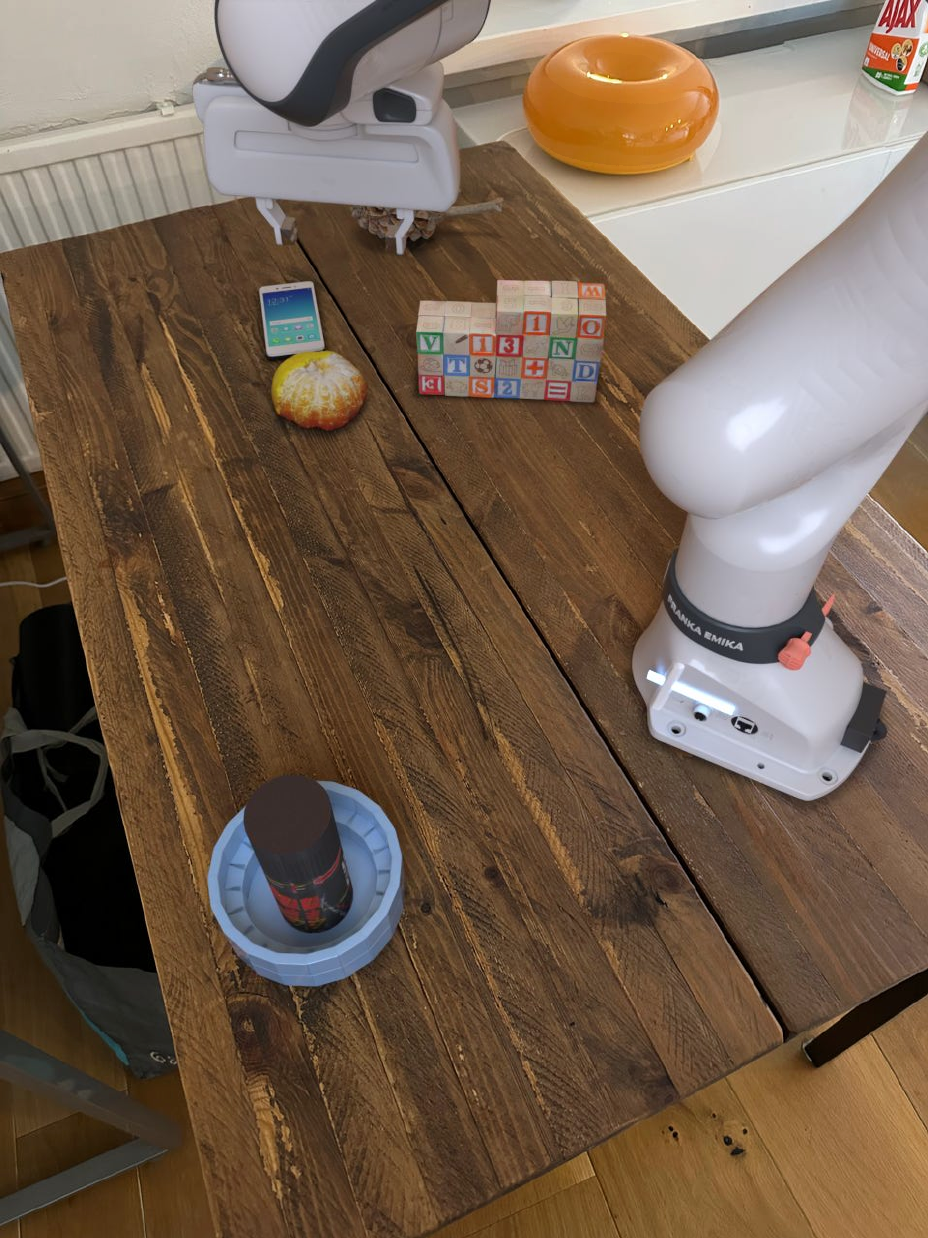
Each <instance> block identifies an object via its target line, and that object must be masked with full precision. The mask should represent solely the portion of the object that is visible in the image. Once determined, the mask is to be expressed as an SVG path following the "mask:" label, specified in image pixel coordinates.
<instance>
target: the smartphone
mask: <svg viewBox="0 0 928 1238" xmlns="http://www.w3.org/2000/svg"><path fill="white" fill-rule="evenodd" d="M258 291H259V292H258V293H259V300H260V301H259V307H260V314H261V318H262V327H263V334H264V335H263V336H264V343H265V344H264V345H265V351H266V357H267V359H268V360H272V361H274V360H281V359H282V360H283V359H289V358H290V357H292V356H293V355H295V354H297V353H301V352H306V351H310V352H320V351H326V347H325V340H324V337H323V330H322V325H321V319H320V313H319V308H318V307H319V304H318V303H319V302H318V300H317V296H316V290H315V285H314V282H313V281H309V280H308V281H307V280H306V281H298V282H291V283H282V284H274V285H265V286H261V287H260V288H259V289H258Z"/></svg>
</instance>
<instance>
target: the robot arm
mask: <svg viewBox="0 0 928 1238" xmlns="http://www.w3.org/2000/svg"><path fill="white" fill-rule="evenodd" d="M924 1H925V2H926V3H927V4H928V0H924ZM491 2H492V0H214V9H213V10H214V12H213V13H214V14H213V16H214V27H215V34H216V39H217V43H218V46H219V50H220V52H221V55H222V57H223V60H224V62H225V64H226V67H227V68H225V67H221V66H211V67H207V68H206V70H205V72H203V73H200V74H198V75H197V76H196V78H195V79H194V80H193V82H192V87H191V94H192V100H193V105H194V109H195V113H196V115H197V118H198V119H199V121H200V123H202V139H203V153H204V161H205V168H206V169H205V170H206V175H207V181H208V182H209V184H210V185H211V186H212V188H213V189H215V191H216V192H217V193H218V194H219V195H222V196H229V197H243V198H255V199H254V200H255V204H256V209H257V210H258V211H259V213H260V214H261V215H262V216H263V218H264V219H265V221H266V222H267V223H268V224H269V225H270V227H271V228H273V231H274V237H275V243H276V245H277V246H290V247H295V246H296V242H297V241H298V237H299V232H298V229H297V218H296V217H293V216H287V215H286V213H285V212H284V210H283V209H282V208H281V206H280V205H279V202H277V201H278V200H281V201H282V200H283V201H295V202H308V203H321V204H322V203H323V204H333V205H347V206H348V205H349V206H351V205H359V206H372V207H385V208H396V209H397V218H398V219H401V220H400V222H399V224H398V225H388V228H387V232H386V234H385V237H384V243H385V245H386V246H385V254H392V255H404V254H405V250H406V247H407V238H406V232H407V231H408V229H409V227H410V226H411V224H412V222H413V221H414V218H415V214H416V211H417V210H424V211H436V212H446V211H447V210H449V209H450V207H453V205H454V204H455V203H456V202H457V199H458V196H459V192H460V188H461V179H462V178H461V175H462V174H461V171H462V170H461V157H460V155H461V154H460V145H459V138H458V131H457V124H456V121H455V116H454V114H453V111H452V109H451V107H450V106H449V104H448V103H447V101H446V100H445V99H444V98H443V92H444V85H445V71H444V70H445V69H444V65H443V63H442V62H441V61H442V60H443V59H445V58H447V57H450V56H451V55H453V54H455V53H457V52H458V51H460V50H461V49H463V48H464V47H466V46H467V45H469V44H471V43H472V42H474V41H475V40H476V39H477V38H478V36H479V35H480V33H481V32H482V30H483V28H484V27H485V25H486V21H487V18H488V15H489V12H490V8H491ZM927 413H928V130H927V131H925V133H924V134H923V135H922V136H921V137H920V139H919V140H918V141H917V142H916V143H915V144H914V145H913V146H912V148H910V149H909V151H908V152H907V153H906V154H905V155H904V156H903V157H902V158H901V159H900V160H899V162H897V164H896V165H895V166H894V167H893V168H892V169H891V171H890V172H889V173H888V174H887V175H886V176H885V177H884V178H883V179H882V180H881V182H880V183H878V185H877V186H876V187H875V188H874V189H873V190H872V191H871V192H870V193H869V195H868V196H867V197H866V198H865V199H864V200H863V201H862V202H861V204H860V205H859V206H857V208H856V209H855V210H854V211H853V212H852V213H851V214H850V215H848V217H847V218H845V220H843V221H842V223H840V224H839V225H838V226H837V227H836V228H835V229H834V230H832V232H830V233H829V234H827V236H826V237H825V238H823V239H822V240H821V241H820V242H818V244H816V245H815V246H814V247H813V248H811V249H810V250H809V251H808V252H807V253H805V254H804V255H803V256H801V258H800V259H799V260H797V261H796V262H794V264H792V265H791V266H790V267H789V268H788V269H787V270H786V271H784V272H783V273H782V274H781V275H780V276H778V278H776V279H775V280H774V281H773V282H772V283H771V284H770V285H768V286H767V287H766V288H765V289H764V290H763V291H762V292H761V293H759V294H758V296H756V297H755V298H754V299H753V300H751V302H749V304H748V305H746V306H745V307H743V309H742V310H741V311H740V312H739V313H738V314H737V315H735V316H734V317H733V318H732V319H731V320H730V321H729V322H728V323H727V324H726V325H725V326H724V327H723V328H721V329H720V330H719V331H718V332H717V333H716V334H715V335H714V336H713V337H712V338H710V340H709V341H707V343H706V344H705V345H703V346H702V347H701V348H700V349H698V350H697V351H695V353H694V354H693V355H692V356H690V357H689V358H688V359H686V361H684V362H683V363H682V364H681V365H679V366H678V367H677V368H676V369H674V370H673V371H672V372H671V373H670V374H669V375H667V376H666V377H665V378H664V379H662V380H661V382H659V383H658V384H657V385H656V386H654V388H653V389H652V390H651V391H650V392H649V393H648V394H647V396H646V398H645V399H644V401H643V404H642V407H641V409H640V414H639V415H640V416H639V423H638V424H639V425H638V438H639V440H638V441H639V442H638V443H639V448H640V453H641V458H642V460H643V463H644V466H645V468H646V470H647V472H648V475H649V476H650V478H651V480H652V482H653V483H654V485H655V486H656V487H657V488H658V490H659V491H660V492H661V494H663V496H664V497H665V498H666V499H668V500H669V501H670V502H671V503H673V504H674V505H675V506H677V507H678V508H680V509H681V510H683V511H684V512H687V515H686V519H685V523H684V526H683V527H684V528H683V530H682V533H681V539H680V542H679V545H678V547H677V548H676V549H674V550H673V553H672V555H671V557H670V558H669V561H668V564H667V566H666V570H665V573H664V577H663V580H662V584H663V585H662V590H661V594H660V595H661V600H662V601H661V603H660V606H659V608H658V610H657V612H656V614H655V616H654V617H653V619H652V620H651V622H650V624H649V625H648V627H647V628H645V629H644V631H643V632H642V634H640V635H639V638H638V639H637V641H636V643H635V645H634V648H633V653H632V658H631V669H632V675H633V680H634V683H635V685H636V687H637V689H638V692H639V693H640V695H641V697H642V699H643V702H644V703H645V706H646V720H647V721H646V722H647V729H648V732H649V733H650V735H651V736H652V737H653V738H655V739H656V740H658V741H660V742H662V743H664V744H667V745H670V746H672V747H674V748H677V749H679V750H681V751H684V752H686V753H688V754H691V755H693V756H696V757H698V758H701V759H703V760H705V761H707V762H710V763H713V764H715V765H717V766H719V767H722V768H724V769H726V770H729V771H731V772H734V773H736V774H739V775H741V776H743V777H746V778H748V779H750V780H753V781H755V782H757V783H760V784H763V785H765V786H767V787H770V788H772V789H775V790H777V791H779V792H782V793H784V794H787V795H789V796H791V797H794V798H796V799H799V800H802V801H806V802H811V801H814V800H818V799H820V798H823V797H824V796H826V795H828V794H830V793H832V792H833V791H835V790H836V789H837V788H839V787H840V786H841V785H842V784H843V783H844V782H845V781H846V780H847V779H848V778H849V777H850V776H851V775H852V773H853V772H854V770H855V769H856V768H857V766H858V765H859V763H860V762H861V761H862V758H863V757H864V755H865V754H866V752H867V749H868V748H869V746H870V743H871V742H876V741H881V740H883V739H885V738H886V737H887V736H888V735H887V734H888V728H887V726H886V725H885V723H884V722H883V721H882V720H881V719H880V718H879V717H880V714H881V710H882V707H883V704H884V701H885V699H886V695H887V692H888V691H887V690H885V689H882V688H881V687H878V686H876V685H873V684H870V683H868V682H865V681H864V669H863V666H862V663H861V661H860V659H859V658H858V656H857V655H856V654H855V653H854V652H853V650H851V648H849V646H848V645H847V644H846V642H845V641H843V639H842V638H841V637H840V636H839V635H838V634H837V633H836V631H835V630H834V624H833V622H832V621H831V619H829V617H827V616H828V614H829V612H830V611H831V609H832V608H833V605H834V601H835V597H836V594H835V593H832V594H831V595H830V597H829V598H828V599H827V601H826V602H825V604H824V605H823V607H822V608H821V605H820V603H819V601H818V599H817V596H816V589H815V588H816V587H815V583H816V580H817V579H818V576H819V574H820V572H821V570H822V568H823V565H824V563H825V561H826V559H827V557H828V555H829V553H830V550H831V548H832V547H833V544H834V543H835V541H836V540H837V537H838V536H839V535H840V532H842V529H843V528H844V527H845V525H846V524H847V522H848V521H849V519H850V518H851V517H852V515H854V513H855V511H856V510H857V509H858V508H859V506H860V505H861V504H862V502H863V501H864V500H865V498H866V497H867V496H868V494H869V493H870V492H871V491H872V489H873V488H874V486H875V485H876V484H877V482H878V481H879V480H880V478H881V477H882V476H883V474H884V473H885V471H887V469H888V467H889V466H890V464H891V463H892V462H893V460H894V459H895V457H896V456H897V455H898V453H899V452H900V450H901V448H902V447H903V446H904V445H905V442H906V441H907V439H909V437H910V435H912V433H913V432H914V430H915V429H916V427H917V426H918V424H919V423H920V422H921V421H922V420H923V418H924V417H925V416H926V414H927ZM673 730H674V731H676V732H678V733H674V732H673ZM823 777H826V778H827V779H829V780H826V779H824V778H823Z"/></svg>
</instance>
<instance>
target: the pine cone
mask: <svg viewBox="0 0 928 1238" xmlns="http://www.w3.org/2000/svg"><path fill="white" fill-rule="evenodd" d="M504 203H506V204H508V202H507V201H505V199H504V197H503V196H502V197H499V196H498V195H497V196H496V197H495V198H494V199H491V200H489V201H484V202H480V203H475V204H466V205H455V206H453V205H452V206H451V207H450V209H449V210H447V211H446V212H436V211H424V210H417V211H416V214H415V218H414V221H413V222H412V224H411V226H410V227H409V229H408V231H407V232H406V239H407V238H410V240H411V241H413V242H415V241H416V240H418V239H419V238H423V239H425V240H428V239H429V238H430V237H432V235H433V234H434V233H435V229H436V227H437V225H439V224H440V223H441V222H442V221H444V220H445V218H452V217H459V216H470V215H476V214H485V213H491V212H501V213H502V212H503V211H502V207H503V205H504ZM349 210H350V213H351V217H352V218H353V219H355V220H357V219H358V221H357V223H358V225H359V227H360V228H362V229H365V230H368V231H369V233H370V234H373V235H377V236H378V237H379V239H383V238H385V234H386V232H387V228H388V225H398V224H399V222H400V220H401V219H398V218H397V209H396V208H385V207H372V206H359V205H350V207H349Z"/></svg>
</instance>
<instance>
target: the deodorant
mask: <svg viewBox="0 0 928 1238" xmlns="http://www.w3.org/2000/svg"><path fill="white" fill-rule="evenodd" d="M317 781H318V780H316V779H313V778H311V777H309V776H306V775H300V774H297V773H296V774H295V773H294V774H283V775H279V776H275V777H273V778H271V779H269V780H267V781H266V782H265V781H264V782H263V783H262V784H261V785H260V786H259V787H258V788H257V789H255V790H254V791H253V792H252V794H251V795H250V797H249V798H248V800H247V802H246V804H245V806H246V807H245V806H244V807H245V810H244V818H243V822H244V828H245V832H246V834H247V836H248V839H249V841H250V843H251V845H252V848H253V850H254V852H255V855H256V857H257V859H258V861H259V864H260V866H261V868H262V871H263V873H264V875H265V877H266V880H267V882H268V884H269V887H270V889H271V891H272V893H273V896H274V898H275V900H276V903H277V905H278V907H279V909H280V912H281V914H282V916H283V917H284V919H285V921H286V922H287V923H288V924H289V925H290V926H291V927H293V928H294V929H296V930H298V931H300V932H305V933H309V934H311V933H321V932H324V931H328V930H330V929H332V928H333V927H335V926H337V925H338V924H339V923H340V922H341V921H342V920H343V919H344V918H345V917H346V915H347V913H348V912H349V910H350V908H351V905H352V901H353V888H352V884H351V880H350V876H349V872H348V868H347V864H346V860H345V857H344V853H343V849H342V845H341V841H340V837H339V833H338V829H337V826H336V822H335V818H334V814H333V810H332V806H331V802H330V798H329V796H328V794H327V792H326V791H325V789H324V788H323V787H322V786H321V785H320V784H319V783H318V782H317Z"/></svg>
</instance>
